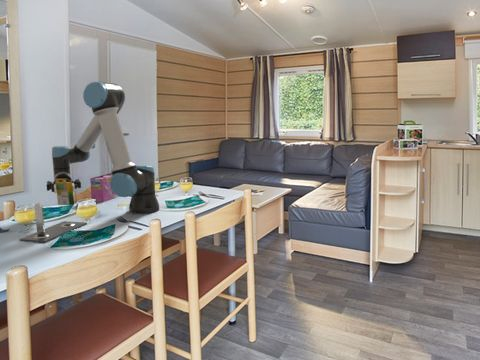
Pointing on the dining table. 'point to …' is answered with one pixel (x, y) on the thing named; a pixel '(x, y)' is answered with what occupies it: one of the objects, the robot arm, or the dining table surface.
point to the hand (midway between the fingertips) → (64, 189)
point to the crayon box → (64, 192)
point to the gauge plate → (53, 232)
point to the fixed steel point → (39, 220)
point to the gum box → (102, 188)
